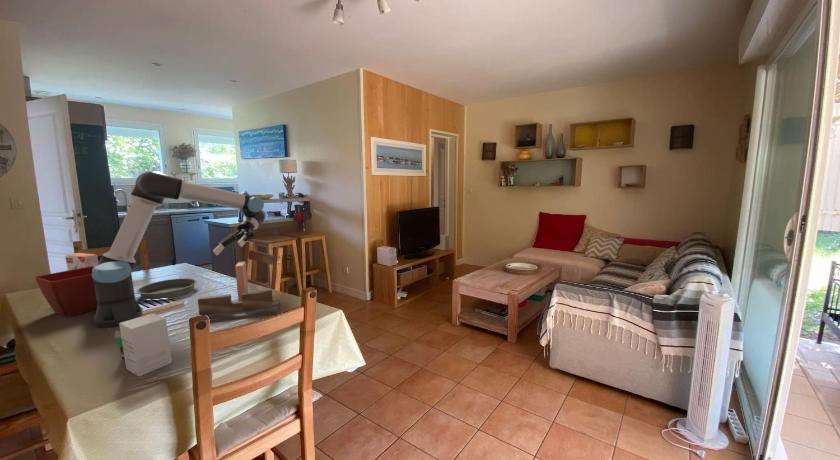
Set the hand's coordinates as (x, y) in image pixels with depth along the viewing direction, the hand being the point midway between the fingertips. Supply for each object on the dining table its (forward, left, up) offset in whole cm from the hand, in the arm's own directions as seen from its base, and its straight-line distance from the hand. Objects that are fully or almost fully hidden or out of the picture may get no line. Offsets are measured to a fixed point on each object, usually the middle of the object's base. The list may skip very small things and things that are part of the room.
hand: (227, 248), depth 160 cm
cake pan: (-39, -7, -25) cm, 47 cm away
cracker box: (-74, -26, -25) cm, 82 cm away
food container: (+19, -45, -25) cm, 55 cm away
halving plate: (+6, +2, -25) cm, 26 cm away
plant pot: (-51, -37, -25) cm, 68 cm away
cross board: (+17, -9, -25) cm, 31 cm away
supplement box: (+31, -49, -25) cm, 63 cm away
